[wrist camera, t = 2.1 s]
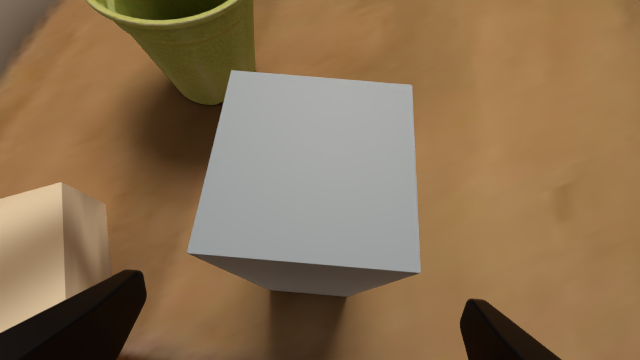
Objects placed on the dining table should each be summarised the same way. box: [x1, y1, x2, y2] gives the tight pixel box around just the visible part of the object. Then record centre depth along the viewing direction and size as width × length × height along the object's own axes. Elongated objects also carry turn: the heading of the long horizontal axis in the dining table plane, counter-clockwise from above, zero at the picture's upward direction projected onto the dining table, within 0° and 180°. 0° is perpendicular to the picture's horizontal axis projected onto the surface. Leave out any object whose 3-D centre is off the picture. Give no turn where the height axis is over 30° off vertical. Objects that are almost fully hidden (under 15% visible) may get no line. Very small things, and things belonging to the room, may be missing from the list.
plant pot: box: [86, 0, 255, 105], centre depth 20 cm, size 9×9×9 cm
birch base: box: [0, 182, 112, 333], centre depth 16 cm, size 8×8×4 cm
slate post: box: [187, 70, 421, 297], centre depth 13 cm, size 4×4×13 cm
